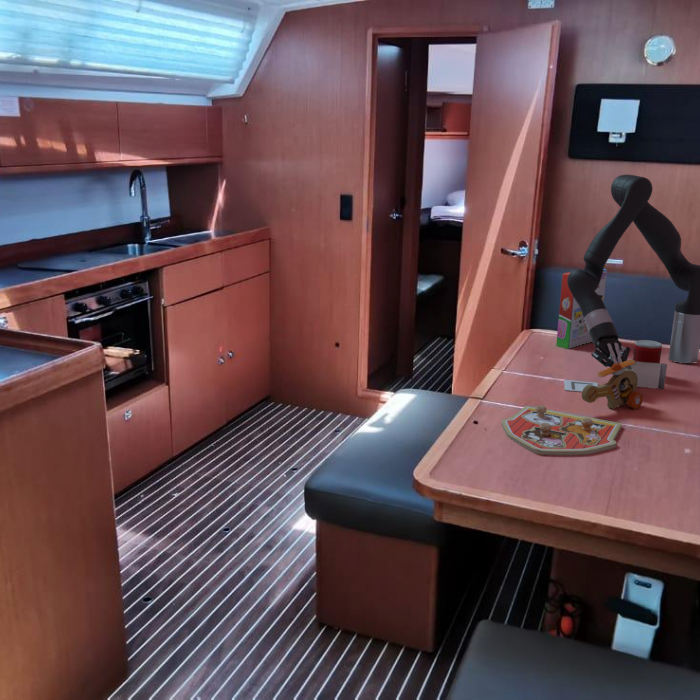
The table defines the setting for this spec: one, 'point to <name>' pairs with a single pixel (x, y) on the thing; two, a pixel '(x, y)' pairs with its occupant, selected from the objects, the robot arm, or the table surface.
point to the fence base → (650, 374)
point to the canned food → (647, 351)
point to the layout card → (577, 385)
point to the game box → (574, 316)
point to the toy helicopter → (616, 387)
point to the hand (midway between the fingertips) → (621, 377)
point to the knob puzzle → (560, 432)
